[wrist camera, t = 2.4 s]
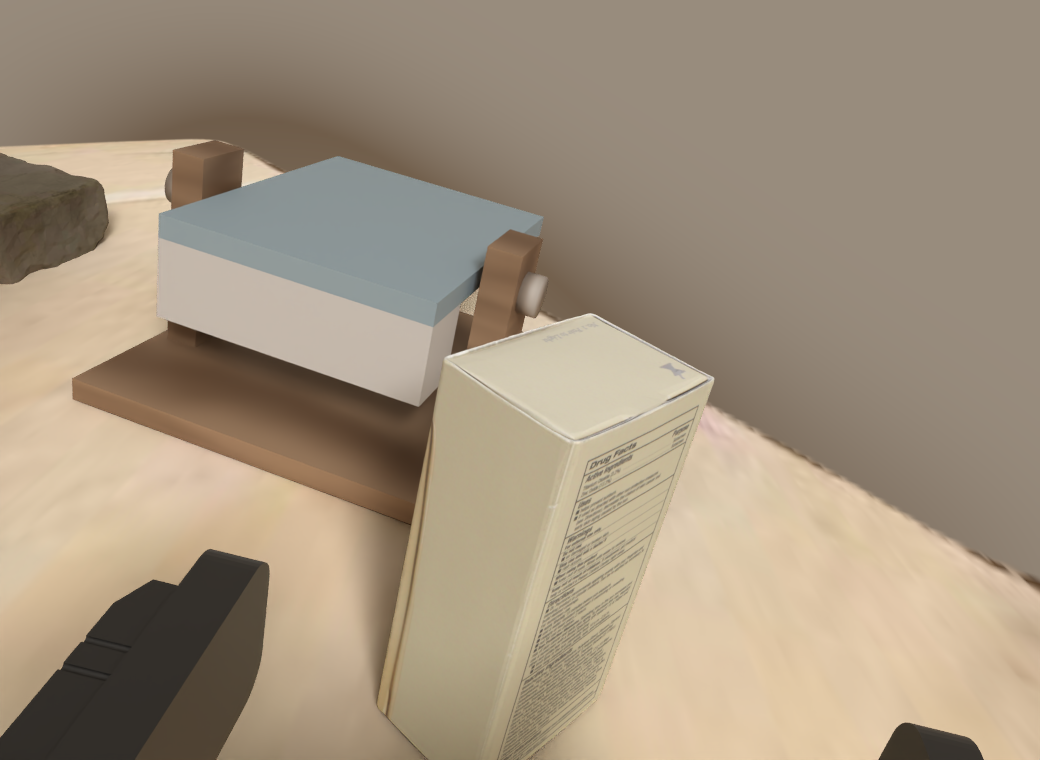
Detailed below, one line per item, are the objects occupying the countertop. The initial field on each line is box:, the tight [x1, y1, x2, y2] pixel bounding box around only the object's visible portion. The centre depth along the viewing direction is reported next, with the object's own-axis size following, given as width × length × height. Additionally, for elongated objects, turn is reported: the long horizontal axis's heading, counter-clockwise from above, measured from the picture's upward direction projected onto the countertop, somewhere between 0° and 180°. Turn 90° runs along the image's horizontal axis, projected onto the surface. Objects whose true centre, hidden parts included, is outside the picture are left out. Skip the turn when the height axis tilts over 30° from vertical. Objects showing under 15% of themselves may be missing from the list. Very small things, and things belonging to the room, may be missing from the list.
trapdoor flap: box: [157, 156, 544, 407], centre depth 41 cm, size 15×12×4 cm
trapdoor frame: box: [72, 140, 548, 525], centre depth 41 cm, size 19×18×10 cm
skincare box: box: [377, 314, 714, 760], centre depth 24 cm, size 6×4×12 cm
